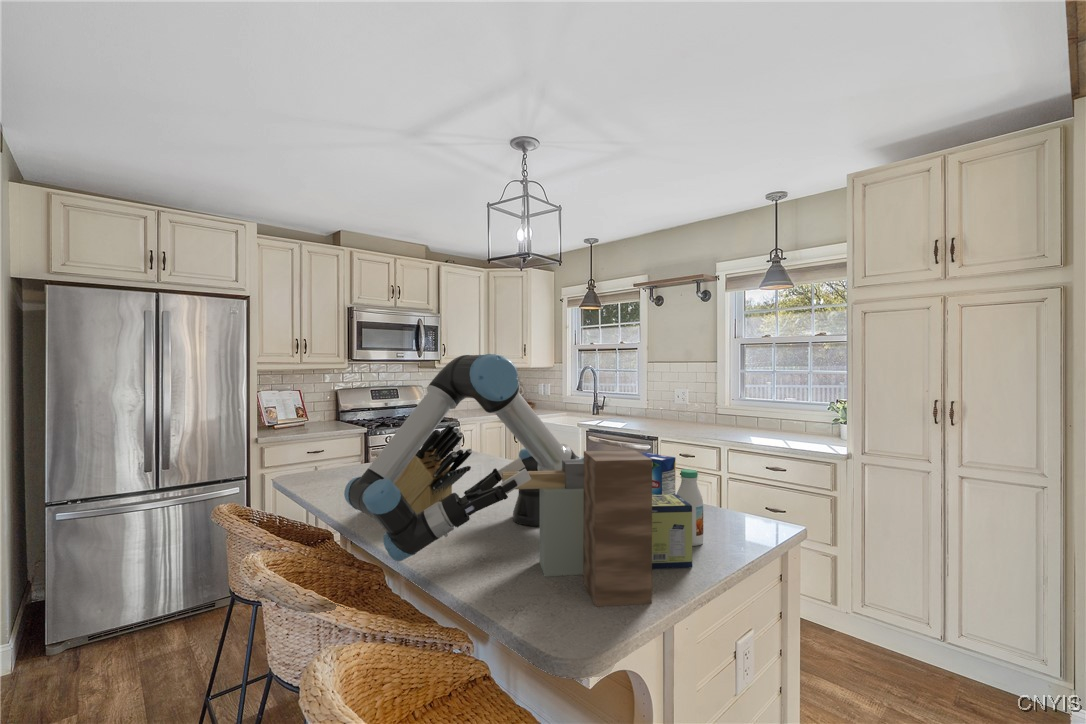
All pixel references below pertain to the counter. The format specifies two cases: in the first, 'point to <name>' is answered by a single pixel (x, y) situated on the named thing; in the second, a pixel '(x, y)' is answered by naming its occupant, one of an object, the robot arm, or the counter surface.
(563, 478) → the mallet
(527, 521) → the robot arm
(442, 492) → the knife block
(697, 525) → the milk bottle
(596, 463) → the stand
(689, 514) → the protein box
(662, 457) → the beverage box
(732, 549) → the counter surface
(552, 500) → the grey-green rectangular block
